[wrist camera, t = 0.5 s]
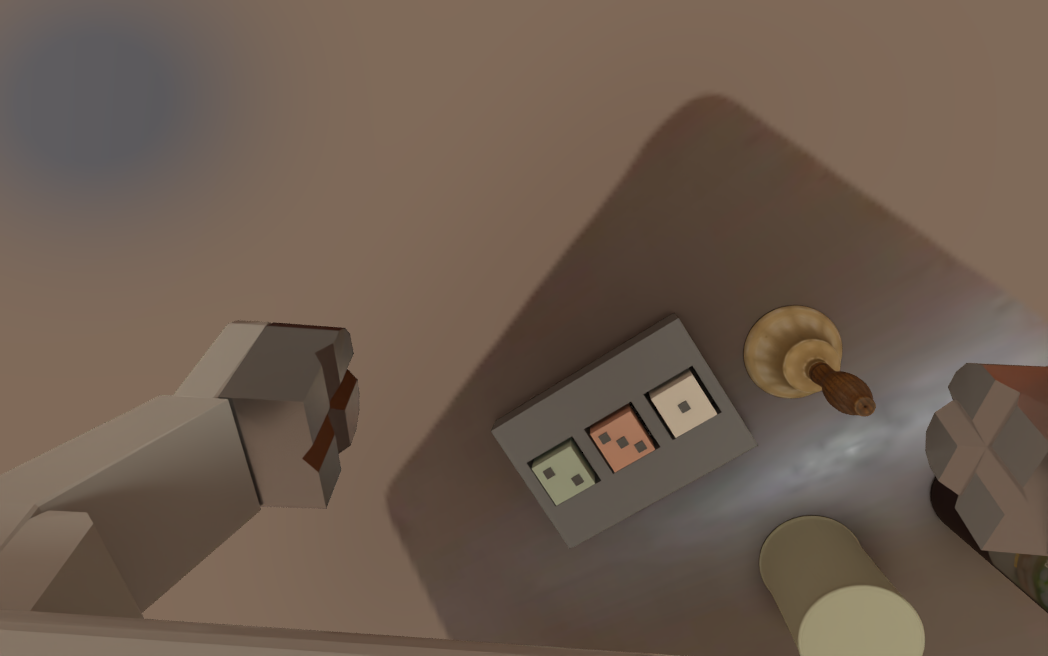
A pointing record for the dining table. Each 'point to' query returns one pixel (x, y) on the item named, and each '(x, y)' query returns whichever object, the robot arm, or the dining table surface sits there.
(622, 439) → the button three
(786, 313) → the hand bell
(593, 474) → the button two
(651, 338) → the button panel
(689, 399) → the button one
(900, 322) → the dining table surface
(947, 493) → the wine bottle
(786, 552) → the can
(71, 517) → the robot arm
